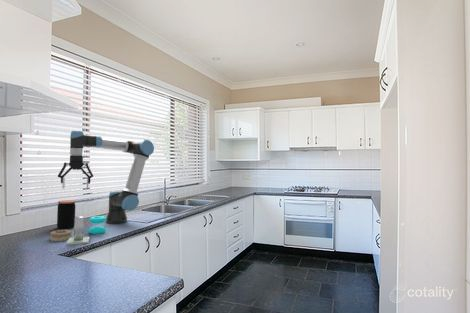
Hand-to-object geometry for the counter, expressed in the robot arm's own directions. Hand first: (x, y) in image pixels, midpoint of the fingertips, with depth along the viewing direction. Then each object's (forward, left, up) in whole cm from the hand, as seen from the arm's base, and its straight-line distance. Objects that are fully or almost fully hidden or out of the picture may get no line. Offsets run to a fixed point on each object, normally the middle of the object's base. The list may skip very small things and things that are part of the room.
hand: (75, 188), depth 194 cm
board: (-5, +21, -29) cm, 36 cm away
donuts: (-14, +2, -29) cm, 32 cm away
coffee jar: (+7, -17, -29) cm, 34 cm away
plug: (-5, +21, -27) cm, 35 cm away
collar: (+5, +13, -29) cm, 32 cm away
